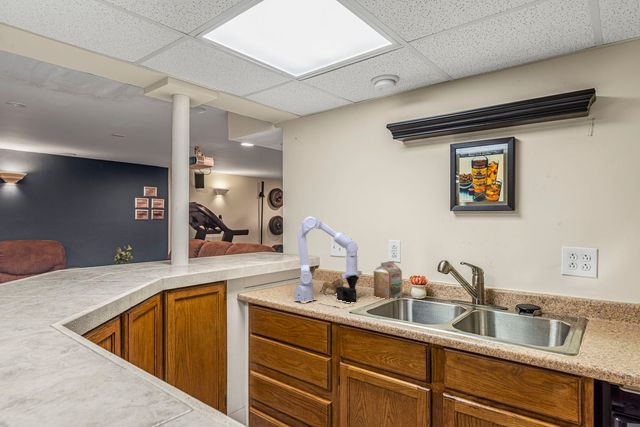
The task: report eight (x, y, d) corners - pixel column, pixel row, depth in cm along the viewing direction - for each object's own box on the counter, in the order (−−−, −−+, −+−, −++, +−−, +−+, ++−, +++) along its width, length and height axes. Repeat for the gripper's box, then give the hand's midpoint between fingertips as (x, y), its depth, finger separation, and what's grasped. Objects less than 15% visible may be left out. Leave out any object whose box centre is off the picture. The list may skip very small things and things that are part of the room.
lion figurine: (345, 294, 212) (344, 278, 212) (342, 296, 207) (341, 279, 207) (320, 292, 217) (320, 276, 217) (317, 294, 212) (317, 278, 212)
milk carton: (389, 300, 195) (388, 263, 195) (374, 297, 203) (373, 261, 203) (402, 297, 202) (401, 261, 202) (386, 294, 210) (386, 260, 210)
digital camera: (334, 301, 196) (334, 287, 196) (342, 299, 199) (342, 286, 199) (349, 304, 188) (348, 290, 188) (356, 302, 192) (356, 288, 192)
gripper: (349, 266, 190) (349, 293, 190) (366, 263, 200) (366, 288, 200) (338, 265, 195) (338, 291, 195) (355, 262, 205) (356, 287, 205)
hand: (352, 290), depth 198 cm, fingers closed
